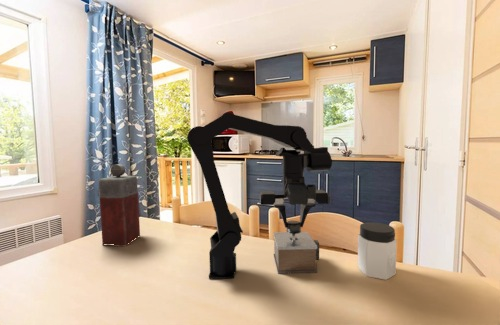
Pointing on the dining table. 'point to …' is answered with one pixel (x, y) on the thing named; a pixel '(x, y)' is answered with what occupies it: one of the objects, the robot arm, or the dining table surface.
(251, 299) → the dining table surface
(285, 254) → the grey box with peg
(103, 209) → the red canister
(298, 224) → the plunger
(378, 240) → the jar
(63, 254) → the dining table surface
